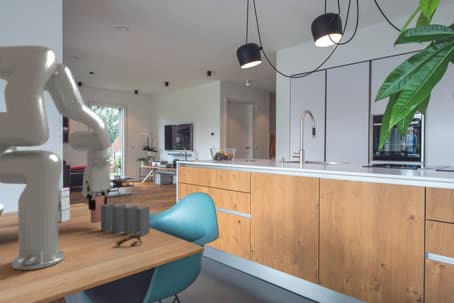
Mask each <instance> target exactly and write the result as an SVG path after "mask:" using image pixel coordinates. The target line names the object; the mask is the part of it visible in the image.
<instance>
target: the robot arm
mask: <svg viewBox="0 0 454 303" xmlns="http://www.w3.org/2000/svg"><path fill="white" fill-rule="evenodd" d="M0 79H1V80H3V81H5V82H6V83H5V87H4V93H3V94H4V95H3V96H4V101H5V102H4V103H5V107H6V109H5V110H6V111H0V183H1V184H4V185H5V184H7V185H8V184H9V185H25V187H24V188H23V190H22V192H21V194H20V196H19V197H18V202H17V209H18V210H17V215H18V223H17V224H18V257H16V258H14V259H13V260H12V262H11V267H12V268H13V269H15V270H17V271H18V270H19V271H30V270H32V271H33V270H38V269H43V268H47V267H50V266H54V265H57V264H58V263H60V262H61V261H63V260H64V259H65V257H66V256H65V255H66V253H65V251H63V250H60V249H59V247H60V245H59V243H60V242H59V240H60V239H59V236H60V235H59V222H58V189H59V188H60V187H59V186H60V180H61V175H62V170H63V162H62V160H61V158H60V156H59V155H58V154H57V153H54V152H53V151H51V150H46V149H44V150H43V149H25V150H22V149H19V150H18V147H22V148H23V147H26V148H28V147H31V148H32V147H40V146H42V145H45V144H47V142H48V141H49V138H50V127H49V123H48V117H47V112H46V107H45V105H46V104H45V101H44V100H45V99H44V92H45V91H46V92H48V93H49V96H50V98H51V99H52V102H53V104H54V106H55V107H56V110H57V112H58V113H59V114H60V115H61V116H62V117H64V118H67V119H70V120H72V121H75V122H78V123H80V124H83V125H85V126H86V127H88V128H89V129H90V130H77V131H73V132H72V133H70V134H69V136H68V145H69V147H70V148H72V149H73V150H75V151H78V152H86V167H84V172H83V176H82V177H83V178H82V180H83V181H82V190H81V192H80V193H81V195H83V196H84V197H85V198H86V200H87V201H88V202H87V203H88V210H89V211H91V210H96V200H94V199H95V196H96V193H98V192H99V193H100V195H103V196H105V204H108V201H107V200H108V197H109V194H110V192H111V191H112V189H113V186H112V184H111V175H110V168H109V165H108V163H109V159H108V149H109V148H110V147H111V144H112V139H111V137H112V136H111V134H110V130H109V127H108V125H107V123H106V121H105V120H104V119H103V117H102V116H101V115H99V113H98V112H96V111H95V110H94V109H92V108H91V107H89V106H88V105H86V103H85V102H84V100H83V96H82V94H81V92H80V90H79V86H78V84H77V82H76V80H75V78H74V75H73V73H72V71H71V69H70V68H69V67H68V66H67V65H65V63H64V64H63V63H59V62H58V58H57V54H56V53H55V52H54V51H53V49H52V48H49V47H46V46H43V45H7V46H5V45H4V46H3V45H2V46H0Z"/></svg>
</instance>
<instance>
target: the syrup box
mask: <svg viewBox="0 0 454 303" xmlns="http://www.w3.org/2000/svg"><path fill="white" fill-rule="evenodd" d="M70 208H71V207H70V187H59V189H58V223H63V222H67V221H69V220H70V219H71V215H70V213H71V212H70V210H71V209H70Z"/></svg>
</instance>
